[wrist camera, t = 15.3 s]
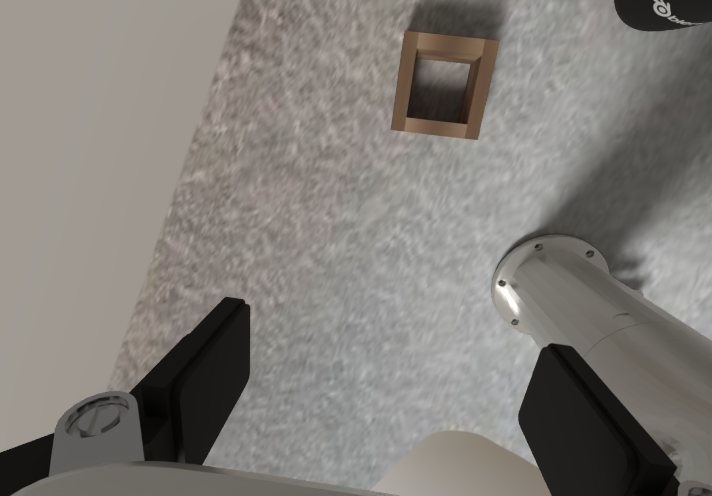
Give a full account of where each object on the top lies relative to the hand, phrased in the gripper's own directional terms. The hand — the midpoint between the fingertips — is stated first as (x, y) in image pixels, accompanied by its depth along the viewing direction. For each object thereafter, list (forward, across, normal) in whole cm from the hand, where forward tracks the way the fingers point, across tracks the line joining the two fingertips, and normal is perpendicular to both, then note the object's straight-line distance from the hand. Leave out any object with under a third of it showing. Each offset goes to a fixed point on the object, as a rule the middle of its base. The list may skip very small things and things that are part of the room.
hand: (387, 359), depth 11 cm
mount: (+28, -4, -11) cm, 31 cm away
